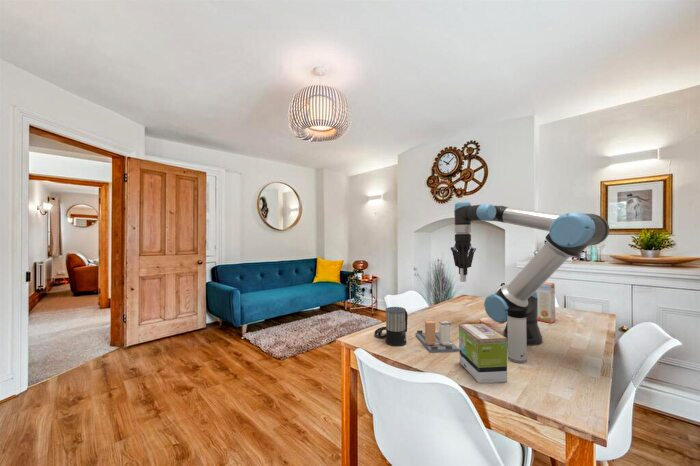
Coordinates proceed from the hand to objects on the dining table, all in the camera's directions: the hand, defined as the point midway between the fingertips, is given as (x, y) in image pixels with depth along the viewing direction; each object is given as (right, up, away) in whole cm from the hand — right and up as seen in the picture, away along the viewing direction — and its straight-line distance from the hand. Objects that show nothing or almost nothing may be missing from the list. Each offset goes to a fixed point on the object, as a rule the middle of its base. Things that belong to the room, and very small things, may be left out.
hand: (463, 281), depth 144 cm
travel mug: (+8, -25, -33) cm, 42 cm away
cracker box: (+49, -24, +17) cm, 57 cm away
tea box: (-10, -25, -43) cm, 50 cm away
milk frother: (-38, -25, -11) cm, 47 cm away
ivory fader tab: (-16, -23, -21) cm, 35 cm away
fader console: (-18, -25, -16) cm, 34 cm away
